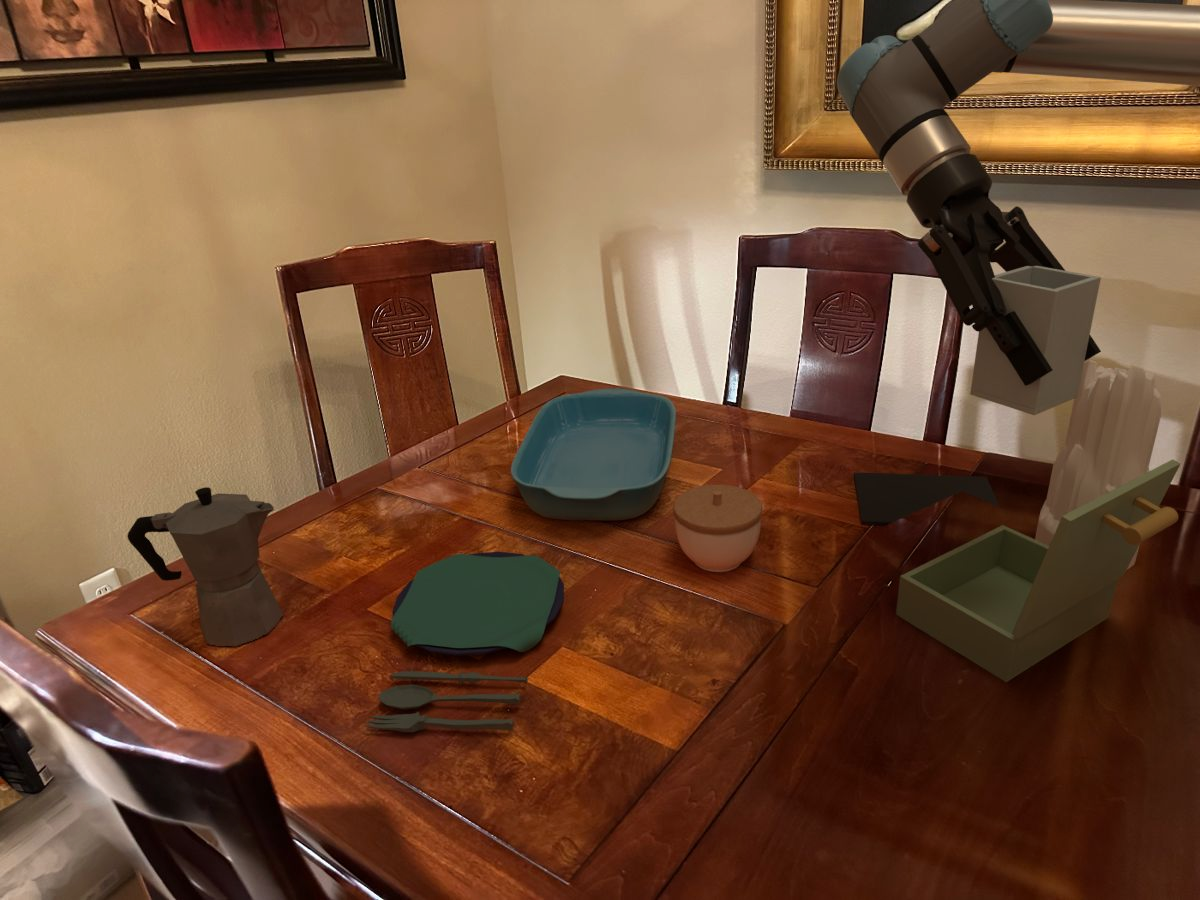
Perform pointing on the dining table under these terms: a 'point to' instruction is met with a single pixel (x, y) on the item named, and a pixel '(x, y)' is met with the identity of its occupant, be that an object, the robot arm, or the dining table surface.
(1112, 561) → the lid
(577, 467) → the casserole dish
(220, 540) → the coffeepot
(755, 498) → the trinket box
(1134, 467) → the decorative vase
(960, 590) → the green open box
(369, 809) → the dining table surface
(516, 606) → the cutlery set
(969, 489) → the mat
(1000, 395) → the container
